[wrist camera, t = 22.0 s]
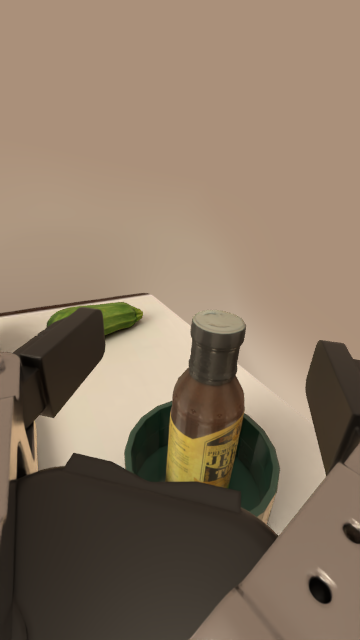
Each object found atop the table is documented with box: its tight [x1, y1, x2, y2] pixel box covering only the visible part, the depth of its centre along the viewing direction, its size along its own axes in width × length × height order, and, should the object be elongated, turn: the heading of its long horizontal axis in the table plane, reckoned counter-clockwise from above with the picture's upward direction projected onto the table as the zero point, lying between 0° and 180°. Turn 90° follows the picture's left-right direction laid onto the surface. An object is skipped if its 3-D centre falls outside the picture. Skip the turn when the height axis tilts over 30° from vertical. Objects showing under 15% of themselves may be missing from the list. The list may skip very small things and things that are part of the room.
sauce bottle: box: [166, 310, 246, 488], centre depth 26 cm, size 6×6×20 cm
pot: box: [124, 401, 280, 524], centre depth 29 cm, size 14×14×7 cm
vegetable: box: [47, 302, 143, 335], centre depth 58 cm, size 7×7×20 cm
